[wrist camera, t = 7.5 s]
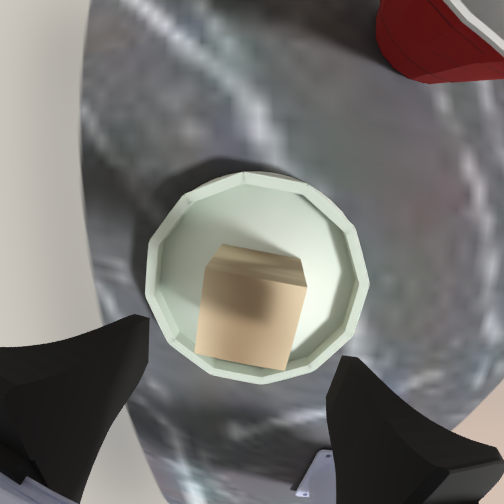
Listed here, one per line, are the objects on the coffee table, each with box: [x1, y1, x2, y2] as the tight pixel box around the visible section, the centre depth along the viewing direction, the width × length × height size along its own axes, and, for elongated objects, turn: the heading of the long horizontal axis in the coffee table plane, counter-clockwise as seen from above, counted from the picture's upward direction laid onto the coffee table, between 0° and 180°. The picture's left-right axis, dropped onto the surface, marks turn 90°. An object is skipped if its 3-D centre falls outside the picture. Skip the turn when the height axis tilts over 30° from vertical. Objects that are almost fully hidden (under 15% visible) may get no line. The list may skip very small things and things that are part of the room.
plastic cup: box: [376, 0, 504, 84], centre depth 9 cm, size 11×11×12 cm
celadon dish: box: [145, 171, 370, 385], centre depth 18 cm, size 13×13×2 cm
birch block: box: [195, 244, 308, 371], centre depth 16 cm, size 4×4×4 cm
